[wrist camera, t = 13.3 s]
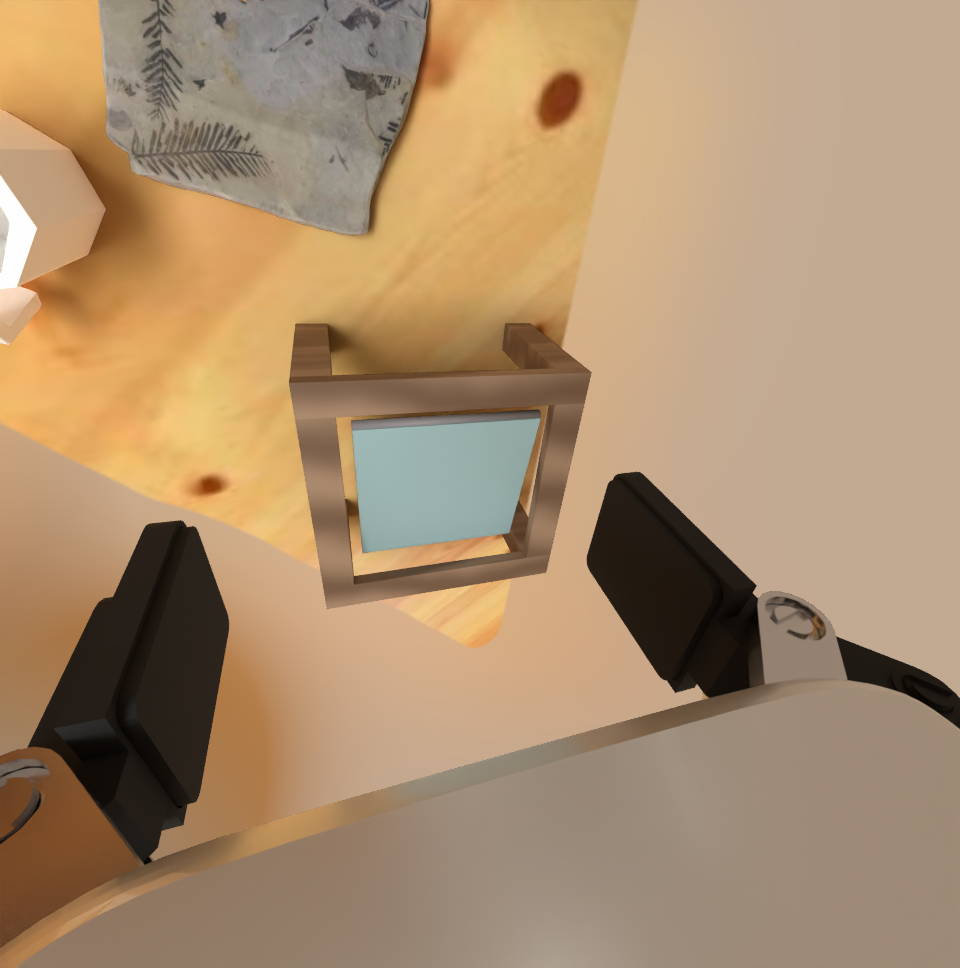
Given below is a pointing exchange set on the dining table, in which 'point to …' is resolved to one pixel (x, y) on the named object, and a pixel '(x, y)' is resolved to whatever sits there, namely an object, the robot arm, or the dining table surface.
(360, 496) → the trapdoor
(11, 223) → the mug
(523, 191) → the dining table surface
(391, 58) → the fossil rock
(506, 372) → the trapdoor frame
